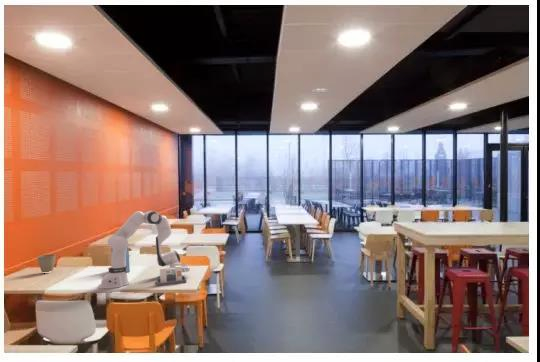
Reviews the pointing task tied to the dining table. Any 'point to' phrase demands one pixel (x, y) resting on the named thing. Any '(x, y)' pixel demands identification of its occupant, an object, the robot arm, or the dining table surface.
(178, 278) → the labelled box
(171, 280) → the charcoal tray
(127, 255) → the gum box
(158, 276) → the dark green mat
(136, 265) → the dining table surface
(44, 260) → the plant pot
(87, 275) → the dining table surface
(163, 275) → the plain box
